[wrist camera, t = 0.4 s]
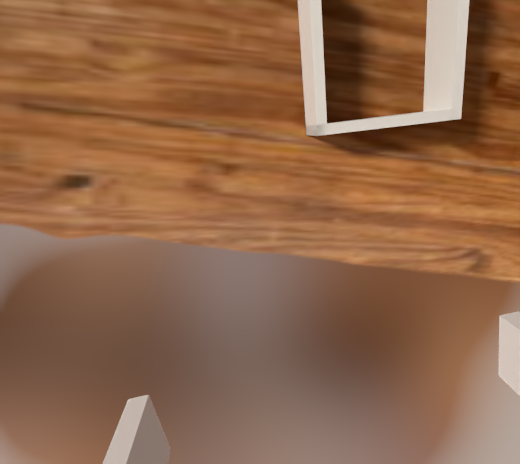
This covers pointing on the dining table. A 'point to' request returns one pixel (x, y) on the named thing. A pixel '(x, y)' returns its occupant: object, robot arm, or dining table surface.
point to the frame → (436, 69)
